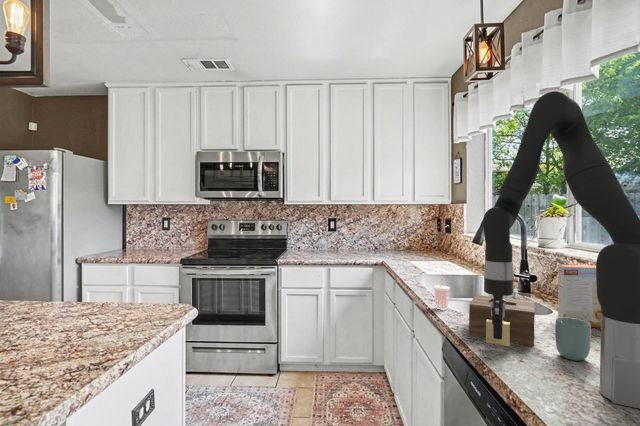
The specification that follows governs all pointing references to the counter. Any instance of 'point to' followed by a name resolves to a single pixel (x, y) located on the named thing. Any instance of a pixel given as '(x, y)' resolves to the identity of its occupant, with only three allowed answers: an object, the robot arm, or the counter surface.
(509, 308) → the coin box
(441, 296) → the beverage cup
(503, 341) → the block
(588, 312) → the cracker box
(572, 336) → the cup
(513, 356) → the counter surface
